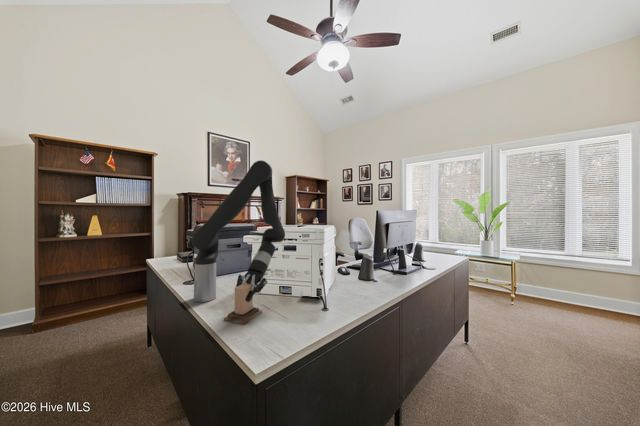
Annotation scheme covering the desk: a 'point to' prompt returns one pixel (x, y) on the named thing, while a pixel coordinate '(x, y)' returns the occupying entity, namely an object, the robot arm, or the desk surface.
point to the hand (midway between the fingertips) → (242, 300)
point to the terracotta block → (242, 299)
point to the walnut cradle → (243, 316)
